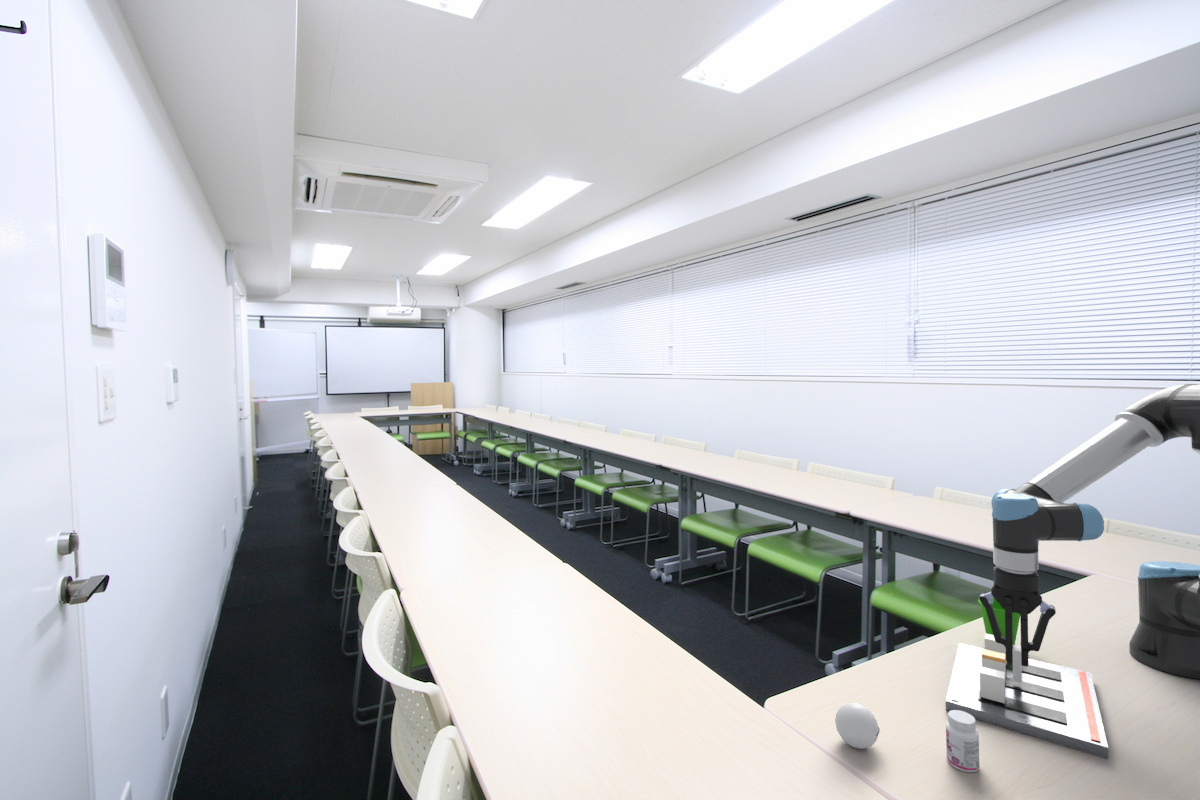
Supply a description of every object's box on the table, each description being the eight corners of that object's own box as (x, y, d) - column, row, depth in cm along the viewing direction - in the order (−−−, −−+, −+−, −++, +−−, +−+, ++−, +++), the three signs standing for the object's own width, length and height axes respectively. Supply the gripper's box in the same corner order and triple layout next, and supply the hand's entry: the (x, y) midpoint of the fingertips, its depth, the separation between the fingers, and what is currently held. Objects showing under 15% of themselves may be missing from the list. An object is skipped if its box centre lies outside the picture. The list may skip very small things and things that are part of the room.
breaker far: (1007, 659, 122) (1006, 637, 122) (1006, 664, 119) (1006, 643, 119) (985, 654, 124) (985, 633, 124) (984, 659, 122) (984, 638, 122)
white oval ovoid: (878, 763, 93) (877, 722, 93) (832, 749, 97) (831, 710, 97) (882, 731, 102) (881, 694, 102) (840, 720, 106) (839, 683, 106)
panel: (1090, 681, 116) (1090, 671, 116) (1108, 758, 93) (1108, 746, 93) (959, 650, 131) (959, 641, 131) (945, 710, 108) (945, 699, 108)
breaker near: (1005, 696, 108) (1004, 672, 108) (1004, 703, 105) (1004, 678, 105) (981, 689, 110) (980, 666, 110) (980, 696, 108) (979, 672, 108)
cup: (1032, 657, 127) (1031, 611, 127) (989, 654, 129) (989, 609, 129) (1011, 639, 136) (1010, 597, 136) (971, 637, 138) (970, 595, 138)
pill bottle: (940, 755, 95) (939, 709, 95) (965, 753, 95) (964, 707, 95) (960, 774, 90) (959, 726, 90) (986, 772, 91) (985, 723, 90)
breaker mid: (1005, 676, 115) (1005, 653, 115) (1005, 682, 112) (1005, 659, 112) (983, 671, 117) (982, 648, 117) (982, 677, 115) (981, 654, 115)
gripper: (1055, 569, 111) (1056, 680, 111) (978, 558, 119) (980, 662, 119) (1057, 579, 105) (1058, 697, 105) (976, 567, 113) (978, 676, 113)
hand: (1017, 678), depth 112 cm, fingers closed
